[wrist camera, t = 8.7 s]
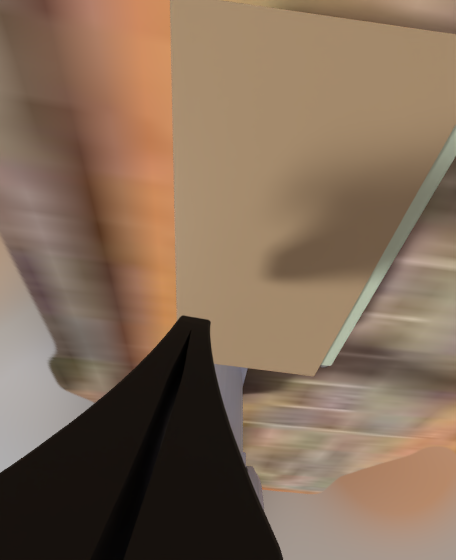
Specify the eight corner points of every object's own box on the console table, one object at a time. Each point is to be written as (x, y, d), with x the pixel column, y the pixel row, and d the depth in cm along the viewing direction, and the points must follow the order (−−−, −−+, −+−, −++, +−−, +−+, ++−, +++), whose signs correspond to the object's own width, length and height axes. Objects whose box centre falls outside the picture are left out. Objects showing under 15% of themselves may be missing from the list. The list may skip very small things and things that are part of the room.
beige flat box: (299, 333, 22) (314, 376, 17) (190, 319, 22) (177, 359, 17) (404, 86, 11) (502, 41, 7) (197, 57, 11) (169, -8, 7)
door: (321, 335, 21) (337, 371, 18) (303, 333, 21) (316, 368, 18) (431, 112, 12) (515, 90, 8) (400, 108, 12) (471, 84, 8)
